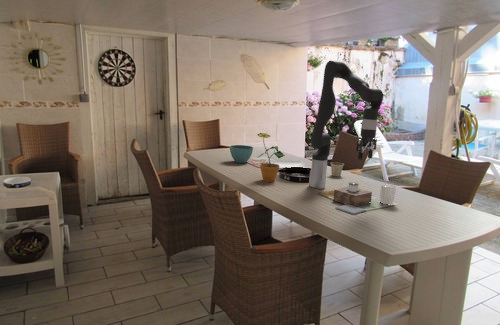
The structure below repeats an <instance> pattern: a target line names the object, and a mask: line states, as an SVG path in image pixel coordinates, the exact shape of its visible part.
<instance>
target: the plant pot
mask: <svg viewBox="0 0 500 325" xmlns="http://www.w3.org/2000/svg"><path fill="white" fill-rule="evenodd" d="M229 150H230V155H231V158H232V160H234V162H235V163H237V164H245V163H247V162H248V161H249V160H250V158H251V157H252V154H253V152H254V147H253V146H250V145H245V144H244V145H242V144H234V145H230V146H229Z"/></svg>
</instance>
